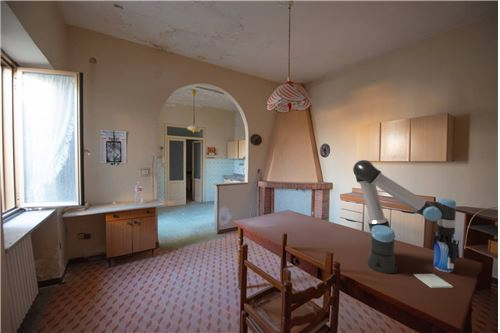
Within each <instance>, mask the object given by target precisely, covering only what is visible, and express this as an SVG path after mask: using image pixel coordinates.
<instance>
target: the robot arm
mask: <svg viewBox="0 0 500 333" xmlns="http://www.w3.org/2000/svg"><path fill="white" fill-rule="evenodd" d="M352 171H353V172H352V173H353V174H354V175H355V179H356V182H357V183H358V184H359V185H360V189H361V192H362V196H363V199H364V203H365V207H366V210H367V213H368V218H369V219H368V221H367V224H368V228H369V232H370V252H369V255H368V258H367V260H366V264H367V266H368V267H369V268H370V269H371V270H374V271H376V272H380V273H383V274H394V273H397V271H398V266H397V263H396V260H395V238H396V234H395V230H394V229H393V228H391V226H390V222H389V219H388V218H386V217H385V214H384V211H383V207H382V204H381V200H380V197H379V192H378V189H377V188H379V189H380V190H382V191H383V192H385V193H387V194H388V195H389V196H391V197H392V198H395V199H396V200H398V201H399V202H401V203H402V204H403V205H405V206H407V207H408V208H410V209H412V212H413V213H416V214H419V215H421V216H422V217H423V218H424V219H425V220H427V221H430V222H436V224H437V225H436V231H433V232H432V235H433V236H432V243H431V248H433V249H434V245H435V243H436V242H437V241H439V242H445V244H446V245H447V247H448V249H449V256H448V268H449V269H453V270H454V266H455V265H454V264H455V263H456V259H459V258H460V248H459V243H460V240H459V239H456V238H455V237H454V235H455V233H456V228H455V227H456V215H457V202H456V200H454V199H451V198H438V200H437V201H432V200H431V201H429V200H425V199H423V198H422V197H420V196H418V195H417V194H415V193H414V192H412V191H410V190H408V189H407V188H405V187H403V185H400V184H399V183H397V182H396V181H394V180H392V179H391V178H389V177H388V176H386V175H384V174H383V173H382V171H381V170H380V169H378V168H377V167H375V166H374V165H373V163H372V162H371V161H369V160H365V159H362V160H358V161H357V162H356V163H355V164H354V165H353V169H352Z"/></svg>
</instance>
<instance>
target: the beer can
mask: <svg viewBox="0 0 500 333" xmlns="http://www.w3.org/2000/svg"><path fill="white" fill-rule="evenodd" d="M433 249H434V250H433V266H434V268H435V269H436V270H437V271H440V272H444V273H451V272H453V271H454V268H453V269H449V268H448V256H449V249H448V247H447V245H446V244H445V242H439V241H437V242H436V243H435V245H434V248H433Z"/></svg>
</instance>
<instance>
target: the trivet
mask: <svg viewBox="0 0 500 333" xmlns="http://www.w3.org/2000/svg"><path fill="white" fill-rule="evenodd" d="M413 276H414V277H416V278H417V279H418V280H420V281H421V282H422V283H424V284H425V285H427V286H428V287H429V288H431V289H453V288H454V286H453V285H452V284H450V283H449V282H447V281H446V280H444V279H443V278H441V277H439V276H438V275H436V274H435V273H414V274H413Z"/></svg>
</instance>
